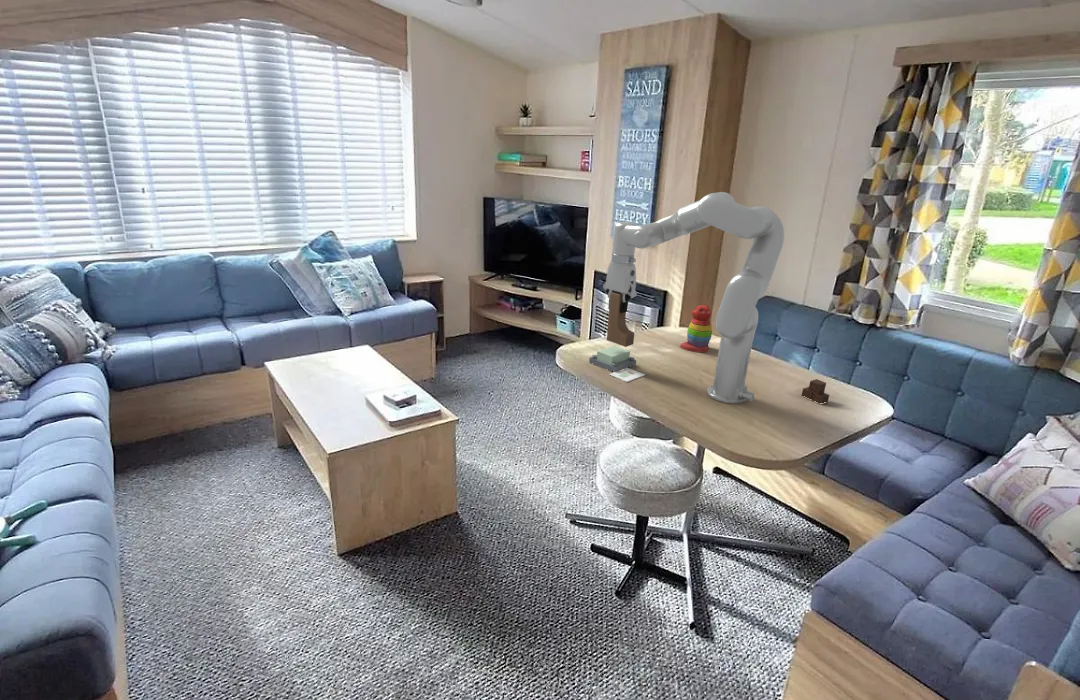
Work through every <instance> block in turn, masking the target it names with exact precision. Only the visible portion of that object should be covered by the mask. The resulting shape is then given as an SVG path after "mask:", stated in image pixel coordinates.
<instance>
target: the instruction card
mask: <svg viewBox="0 0 1080 700" xmlns="http://www.w3.org/2000/svg"><path fill="white" fill-rule="evenodd" d="M610 375H611V377H613V376H614V377H613V378H615V377H616V379H618V380H621V381H623V382H625V383H628V382H631V381H634V380H636V379H639V378H642V377H644V376H645V375H646V374H645V373H643V372H639V371H637V370H635V369H632V368H631V367H630V368H625V369H624V370H623V371H620V370H619V371H616V372H611V373H608V376H610Z"/></svg>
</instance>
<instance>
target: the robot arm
mask: <svg viewBox="0 0 1080 700" xmlns="http://www.w3.org/2000/svg"><path fill="white" fill-rule="evenodd" d="M710 226H712V227H714V228H716V229H719V230H721V231H724V232H725V233H729V234H730V235H732V236H735V237H737V238H740V239H745V240H750V239H751V240H752V239H753V241H752V244H751V246H750V248H749V250H748V252H747V256H746V259H745V262H744V264H743V266H742V268H741V271H740V272H739V273H737V274H735V275H734V276H733V277H732V278H731V279H730V280H729V282H728V283H727V286H726V288H725V291H724V294H723V297H722V299H721V302H720V306H719V309H718V311H717V313H716V316H715V317H716V318H715V327H716V331H717V333H719V334H720V336H721V337H720V343H719V348H718V352H717V353H718V354H717V359H716V365H715V370H714V371H715V372H714V377H713V382H712V385H710V386H708V387H707V389H706V394H707V395H708V396H709V397H710V398H712V399H713V400H716V401H718V402H722V403H726V404H742V403H744V402H746V401H751V402H753V401H754V400H755V393H754V392H752V391H749V390H748V385H747V384H746V379H747V374H748V373H747V372H748V369H749V368H748V367H749V362H750V359H751V352H752V347H753V343H754V338H755V333H756V332H757V327H758V325H759V324H758V323H759V311H758V309H757V307H756V306H757V303H758V301H759V300H760V299H761V298H763V296H764V295H765V294H766V293H767V292H768V289H769V286H770V282H771V280H772V277H773V274H774V272H775V269H776V267H777V263H778V260H779V257H780V255H781V252H782V249H783V245H784V242H785V241H784V240H785V230H784V224H783V222H782V220H781V219H780V217H779V216H778V214H776V212H774V210H772V209H770V208H769V207H767V206H762V205H759V206H753V207H752V206H751V207H748V206H745V205H743V204H740V203H737V202H736V201H735V198H734V197H733V196H732V195H731V194H730V193H728V192H724V191H719V192H712V193H708V194H707V195H704V196H703V197H702V198H701V199H699V200H697V201H694V202H692V203H689V204H686V205H684V206H682V207H680V208H678V209H677V211H676V212H674V213H673V214H671V215H669V216H666V217H664V218H661V219H660V220H657V221H655V222H651V223H645V224H641V225H637V224H636V223H634V222H632V221H631V222H630V221H618V222H616V223H615V225H614V228H613V229H614V230H613V239H612V240H613V242H612V252H611V253H612V254H611V260H610V262H609V265H608V268H607V273H606V279H605V282H604V284H603V285H602V288H603V290H604V291H605V293H606V294H607V298H608V303H609V302H610V292H614V291H616V292H619V293H622V302H621V305H620V313H624V312H626V313H627V312H628V306H629V302H630V301H631V300H632V299H633V298H634V297H637V296H638V293H637V291H636V289H637V288H636V287H637V268H636V262H637V260H636V258H635V250H636V248H638V249H648V248H651V247H655V246H659V245H660V244H664V243H666V242H669V241H671V240H674V239H676V238H679V237H681V236H682V237H683V236H688V235H689V234H692V233H694V232H697V231H700V230H703V229H705V228H708V227H710ZM607 308H608V310H609V305H608V307H607Z"/></svg>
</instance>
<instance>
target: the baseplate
mask: <svg viewBox="0 0 1080 700" xmlns="http://www.w3.org/2000/svg"><path fill="white" fill-rule="evenodd" d="M596 352H597V353H596V354H592V355H591V356H590V357H589V361H588V362H590V363H589V364H591V363H593V364H592V365H594V364H595V365H594V366H596V365H598V366H597V367H599V366H600V368H601V367H603V368H602V369H604V368H605V369H604V370H606V369H608V370H607V371H609V370H610V371H609V372H611V371H613V372H616V371H619V370H622V369H625V368H628V367H630V368H632V367H635V366H636V365H637V360H636V359H635V357H633V356H630V355H631V350H629V349H627V348H626V349H625V348H623V347H620V346H617V345H613V346H609V347H606V348H603V349H600V350H597V351H596ZM631 366H632V367H631ZM613 372H612V373H613Z"/></svg>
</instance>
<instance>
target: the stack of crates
mask: <svg viewBox="0 0 1080 700" xmlns="http://www.w3.org/2000/svg"><path fill="white" fill-rule="evenodd" d="M826 386H827V382H824V381H822V380H819V379H817V378H816V379H812V380H810V382H809V385H808V386H806V387H803V389H802V393H801V397H802V396H805V397H807V398H809V399H812V400H814V401H816V402H818V403H824V402H827V403H828V402H829V398H830V394H828V393H825V390H826ZM805 397H804V398H805ZM807 398H806V399H807ZM809 399H808V400H809ZM814 401H813V402H814ZM816 402H815V403H816ZM818 403H817V404H818Z"/></svg>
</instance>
